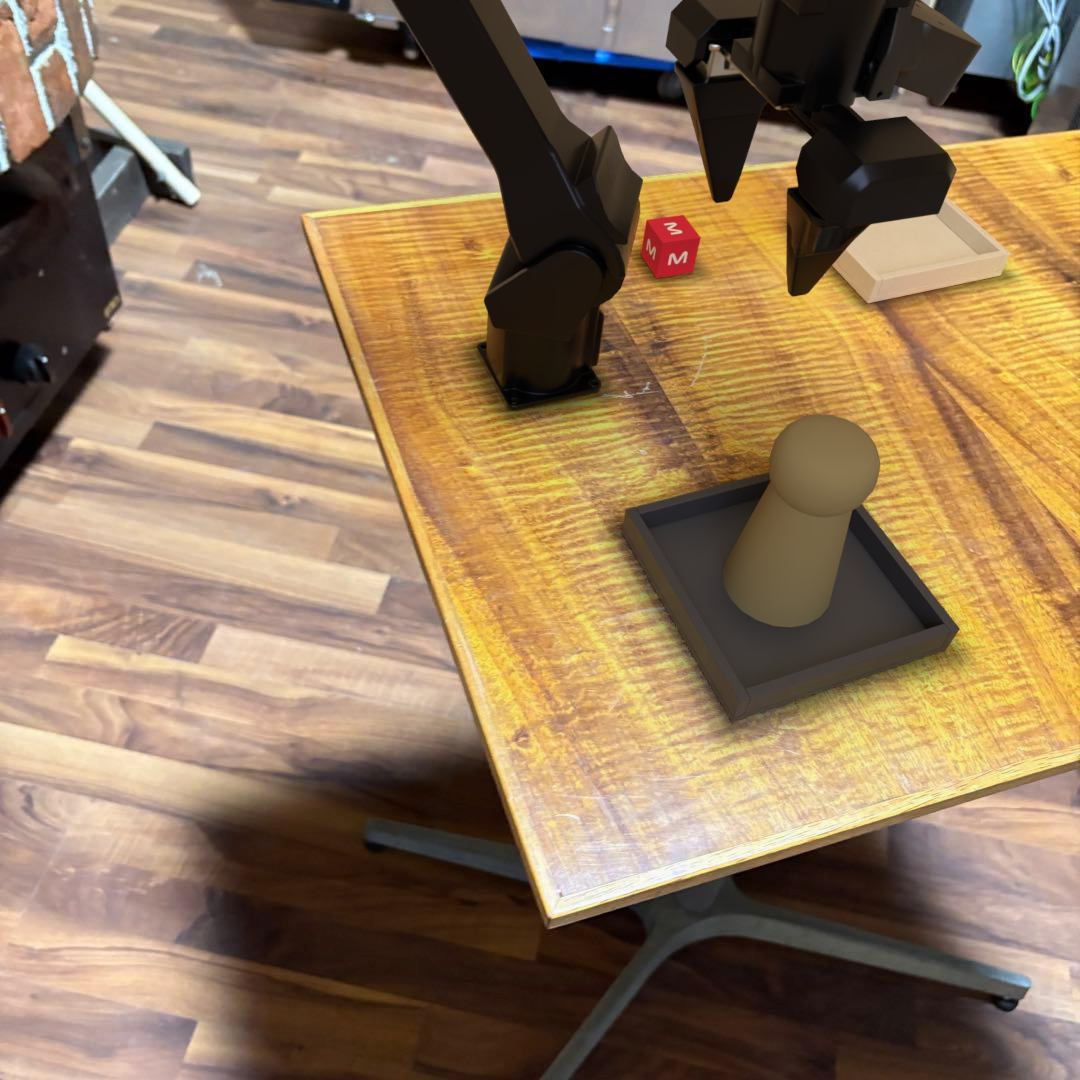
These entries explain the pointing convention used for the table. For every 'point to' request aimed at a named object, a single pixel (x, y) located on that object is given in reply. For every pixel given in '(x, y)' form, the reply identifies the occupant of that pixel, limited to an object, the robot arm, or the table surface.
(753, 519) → the tan game pawn
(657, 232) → the red letter m cube
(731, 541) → the dark tray
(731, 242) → the table surface
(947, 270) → the light tray
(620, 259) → the robot arm
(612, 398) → the table surface
